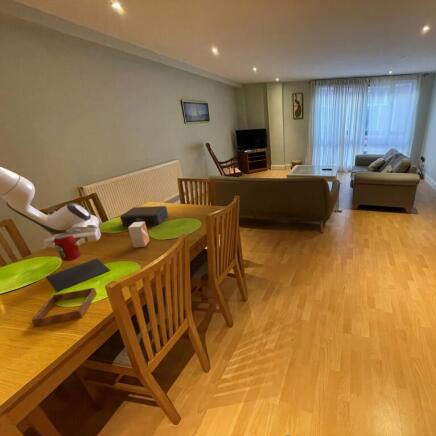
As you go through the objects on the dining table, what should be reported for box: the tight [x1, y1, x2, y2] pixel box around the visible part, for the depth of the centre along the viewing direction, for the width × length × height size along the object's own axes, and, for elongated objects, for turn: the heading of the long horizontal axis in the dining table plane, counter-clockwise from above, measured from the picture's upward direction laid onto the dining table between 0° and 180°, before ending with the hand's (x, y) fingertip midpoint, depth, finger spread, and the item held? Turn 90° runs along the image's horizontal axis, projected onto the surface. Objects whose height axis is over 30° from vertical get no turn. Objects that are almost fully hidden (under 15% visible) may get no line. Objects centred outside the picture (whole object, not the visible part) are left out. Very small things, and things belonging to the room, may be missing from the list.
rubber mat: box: [46, 258, 111, 293], centre depth 116 cm, size 20×18×1 cm
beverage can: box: [54, 232, 82, 262], centre depth 109 cm, size 7×7×12 cm
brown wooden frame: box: [31, 287, 98, 328], centre depth 94 cm, size 14×14×3 cm
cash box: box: [120, 205, 169, 227], centre depth 176 cm, size 25×20×8 cm
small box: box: [127, 222, 150, 248], centre depth 141 cm, size 8×6×13 cm
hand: (65, 245), depth 108 cm, fingers closed on beverage can, 6 cm apart
